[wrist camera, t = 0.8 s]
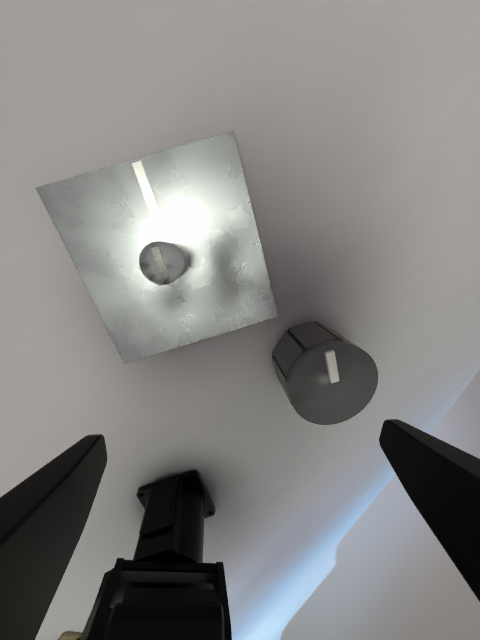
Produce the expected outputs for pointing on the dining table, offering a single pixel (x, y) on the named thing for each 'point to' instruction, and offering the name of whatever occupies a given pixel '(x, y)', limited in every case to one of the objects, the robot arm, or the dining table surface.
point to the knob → (324, 374)
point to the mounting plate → (166, 246)
